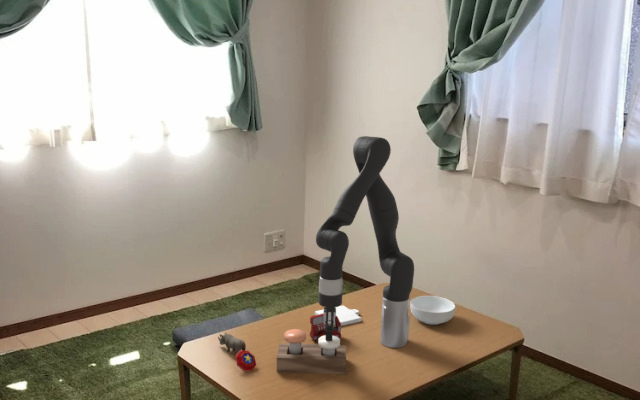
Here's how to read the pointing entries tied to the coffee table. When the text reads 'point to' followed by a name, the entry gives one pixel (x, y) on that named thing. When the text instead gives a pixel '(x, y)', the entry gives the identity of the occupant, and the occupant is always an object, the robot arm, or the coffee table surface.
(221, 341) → the rhino figurine
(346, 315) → the mounting plate
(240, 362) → the button
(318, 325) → the toy fire truck
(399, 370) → the coffee table surface
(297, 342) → the peach dome
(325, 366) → the plunger block
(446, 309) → the cereal bowl
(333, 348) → the white mushroom knob
